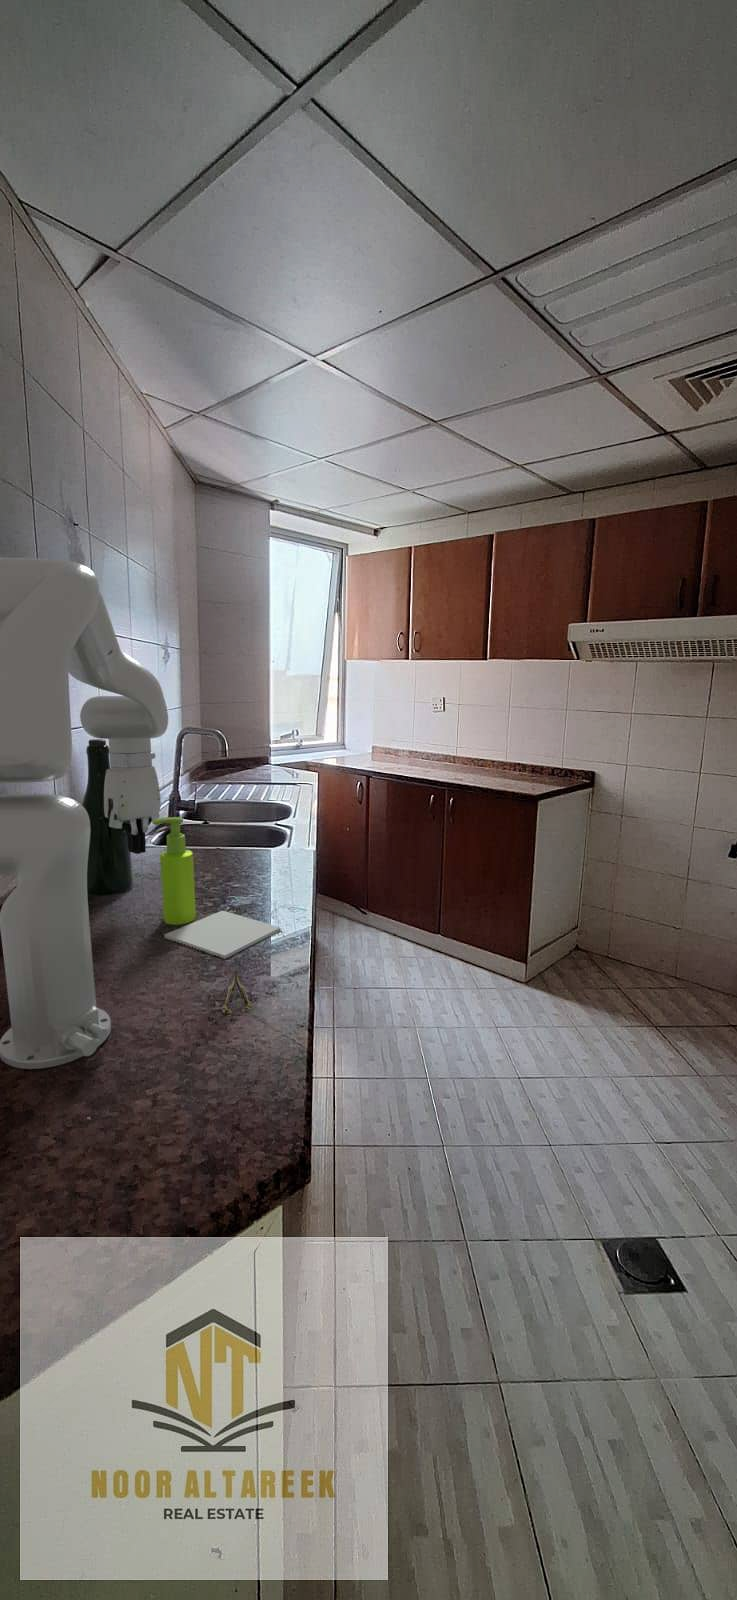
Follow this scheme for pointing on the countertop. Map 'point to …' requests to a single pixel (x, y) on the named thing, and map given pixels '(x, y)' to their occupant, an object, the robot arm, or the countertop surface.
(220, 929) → the grey mat
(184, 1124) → the countertop surface
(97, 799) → the green wine bottle
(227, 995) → the tongs
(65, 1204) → the countertop surface
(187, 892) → the soap dispenser
